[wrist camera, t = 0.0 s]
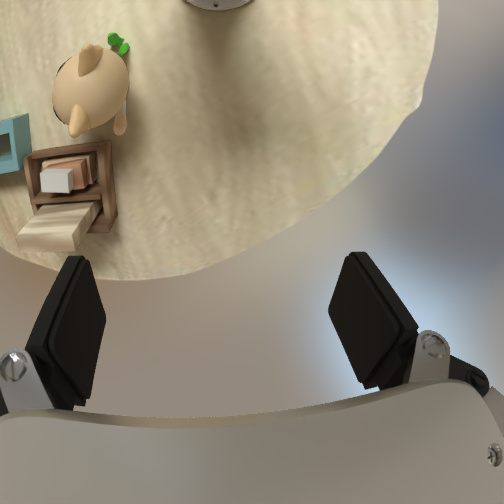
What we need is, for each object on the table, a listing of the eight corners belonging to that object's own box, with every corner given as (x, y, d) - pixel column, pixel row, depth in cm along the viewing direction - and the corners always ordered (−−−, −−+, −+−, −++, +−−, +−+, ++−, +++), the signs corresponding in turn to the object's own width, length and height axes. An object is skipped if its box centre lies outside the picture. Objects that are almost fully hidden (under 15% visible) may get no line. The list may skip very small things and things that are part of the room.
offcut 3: (49, 164, 36) (42, 169, 34) (86, 158, 37) (80, 163, 35) (54, 187, 38) (47, 193, 36) (89, 182, 39) (84, 188, 37)
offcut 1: (45, 168, 34) (39, 173, 33) (72, 168, 35) (67, 173, 34) (47, 186, 36) (41, 192, 34) (73, 187, 37) (68, 192, 35)
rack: (34, 151, 36) (16, 162, 31) (110, 140, 39) (98, 150, 34) (46, 218, 44) (32, 235, 39) (117, 214, 46) (109, 232, 41)
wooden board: (52, 195, 41) (15, 237, 30) (101, 191, 43) (71, 235, 32) (55, 207, 43) (20, 252, 32) (103, 204, 45) (75, 251, 33)
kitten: (90, 35, 28) (43, 24, 16) (152, 37, 31) (126, 20, 19) (74, 126, 36) (27, 152, 24) (132, 130, 39) (101, 158, 27)
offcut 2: (49, 157, 38) (41, 163, 36) (95, 151, 40) (88, 156, 37) (53, 181, 41) (46, 188, 38) (97, 177, 42) (92, 184, 40)
